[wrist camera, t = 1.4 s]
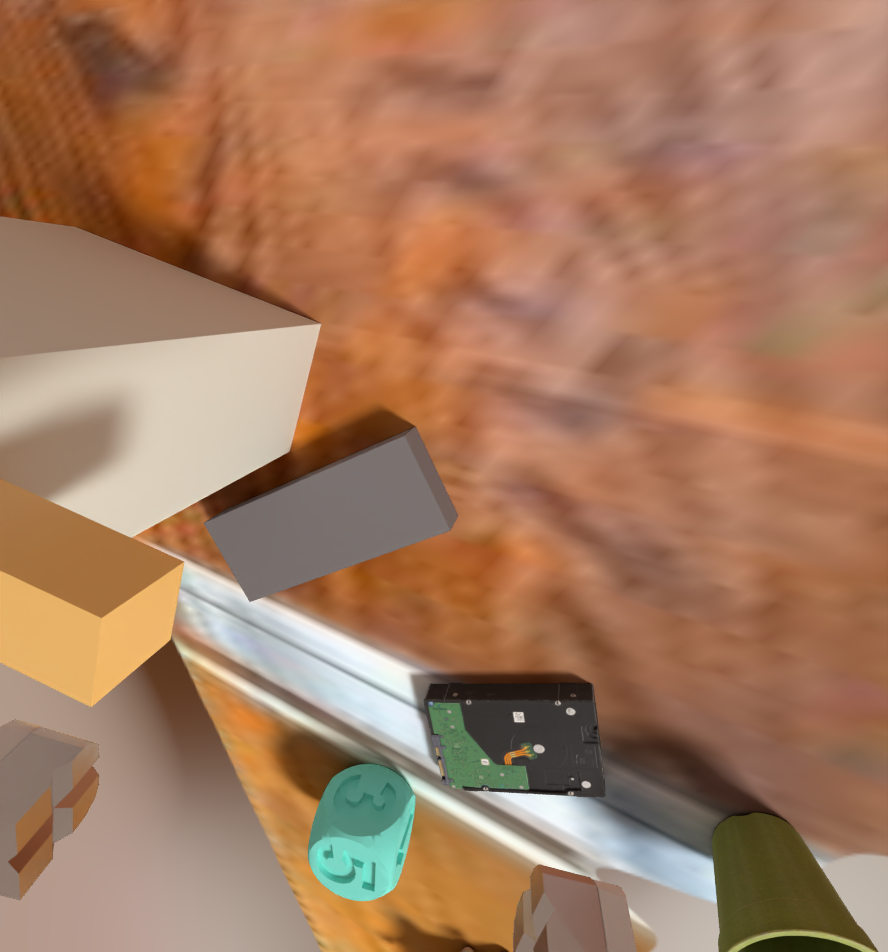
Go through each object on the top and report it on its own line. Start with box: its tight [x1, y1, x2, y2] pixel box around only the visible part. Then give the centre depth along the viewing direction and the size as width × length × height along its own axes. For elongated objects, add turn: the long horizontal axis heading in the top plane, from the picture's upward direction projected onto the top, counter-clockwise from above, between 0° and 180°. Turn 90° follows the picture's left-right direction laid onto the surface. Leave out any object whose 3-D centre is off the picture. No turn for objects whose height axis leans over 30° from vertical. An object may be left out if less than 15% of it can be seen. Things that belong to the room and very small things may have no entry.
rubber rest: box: [204, 427, 458, 602], centre depth 45 cm, size 8×20×3 cm, turn 116°
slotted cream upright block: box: [0, 216, 321, 538], centre depth 32 cm, size 22×11×27 cm, turn 71°
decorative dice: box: [308, 764, 415, 901], centre depth 52 cm, size 8×8×8 cm
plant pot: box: [712, 813, 878, 952], centre depth 42 cm, size 12×12×11 cm
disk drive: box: [424, 683, 605, 797], centre depth 48 cm, size 10×3×15 cm
